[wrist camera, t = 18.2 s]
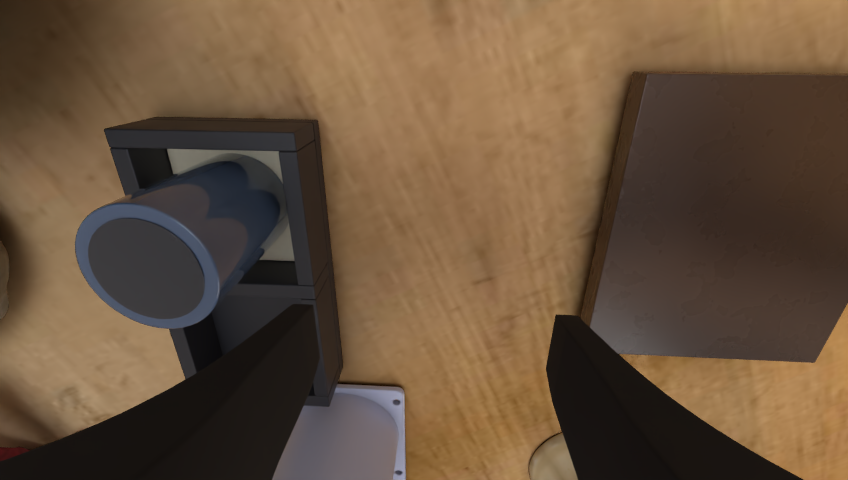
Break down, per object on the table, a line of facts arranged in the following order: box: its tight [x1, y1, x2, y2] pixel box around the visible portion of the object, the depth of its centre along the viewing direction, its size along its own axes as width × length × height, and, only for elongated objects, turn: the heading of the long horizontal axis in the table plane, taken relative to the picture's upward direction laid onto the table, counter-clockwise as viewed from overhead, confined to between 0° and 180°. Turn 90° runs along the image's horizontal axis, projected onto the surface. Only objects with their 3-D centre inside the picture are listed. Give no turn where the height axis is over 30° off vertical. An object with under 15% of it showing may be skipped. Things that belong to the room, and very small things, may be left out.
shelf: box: [580, 72, 848, 363], centre depth 19 cm, size 14×12×2 cm
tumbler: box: [75, 153, 289, 329], centre depth 17 cm, size 5×5×7 cm
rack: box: [104, 117, 343, 407], centre depth 21 cm, size 15×8×3 cm, turn 0°
